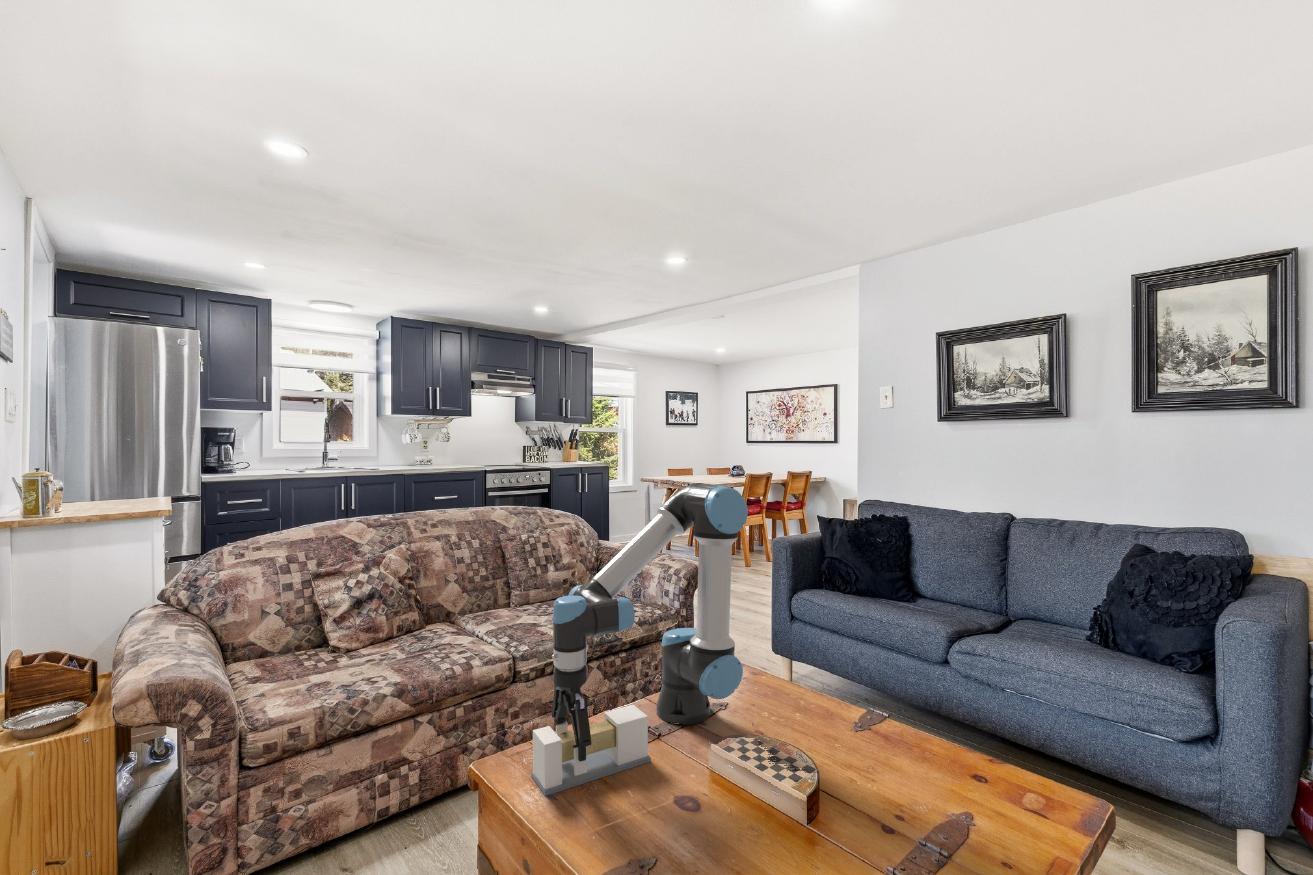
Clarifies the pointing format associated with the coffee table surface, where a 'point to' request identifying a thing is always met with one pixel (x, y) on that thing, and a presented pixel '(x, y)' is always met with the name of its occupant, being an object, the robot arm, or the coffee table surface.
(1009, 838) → the coffee table surface
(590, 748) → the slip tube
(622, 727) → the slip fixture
